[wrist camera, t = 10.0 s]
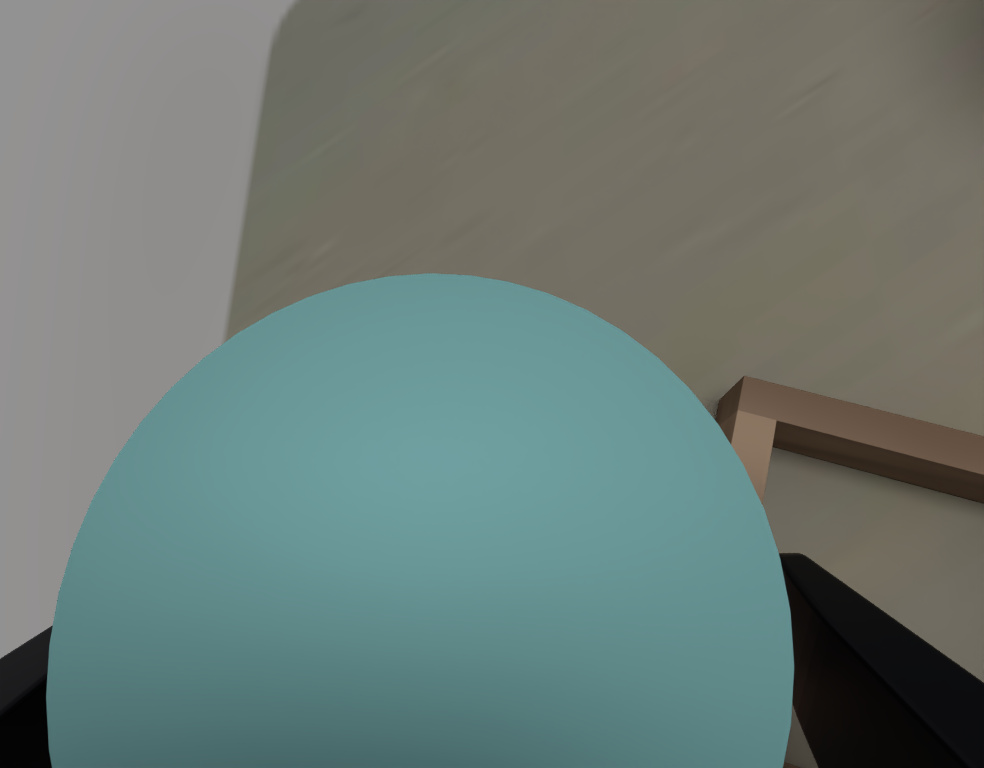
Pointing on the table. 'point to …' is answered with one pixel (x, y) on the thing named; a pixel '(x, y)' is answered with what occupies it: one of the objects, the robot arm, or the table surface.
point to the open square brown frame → (847, 439)
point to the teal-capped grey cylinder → (424, 554)
